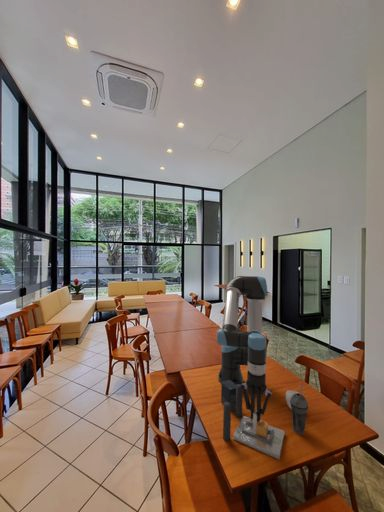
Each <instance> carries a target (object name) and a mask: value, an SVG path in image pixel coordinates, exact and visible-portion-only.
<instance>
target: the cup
mask: <svg viewBox="0 0 384 512" xmlns="http://www.w3.org/2000/svg"><path fill="white" fill-rule="evenodd" d="M295 393H299V394H300V392H298V391H296V390H287V391H286V392H285V401H286V404H287V406H288V407H289V409H290V410H291V403H290V399H291V397H292V395H293V394H295Z"/></svg>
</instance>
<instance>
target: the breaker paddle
mask: <svg viewBox="0 0 384 512" xmlns="http://www.w3.org/2000/svg"><path fill="white" fill-rule="evenodd" d="M268 425H269V422H267V421H265V420H264V419H260V422H257V424H256V435H259V436H261V437H264V438H266V437H267V434H268Z"/></svg>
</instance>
